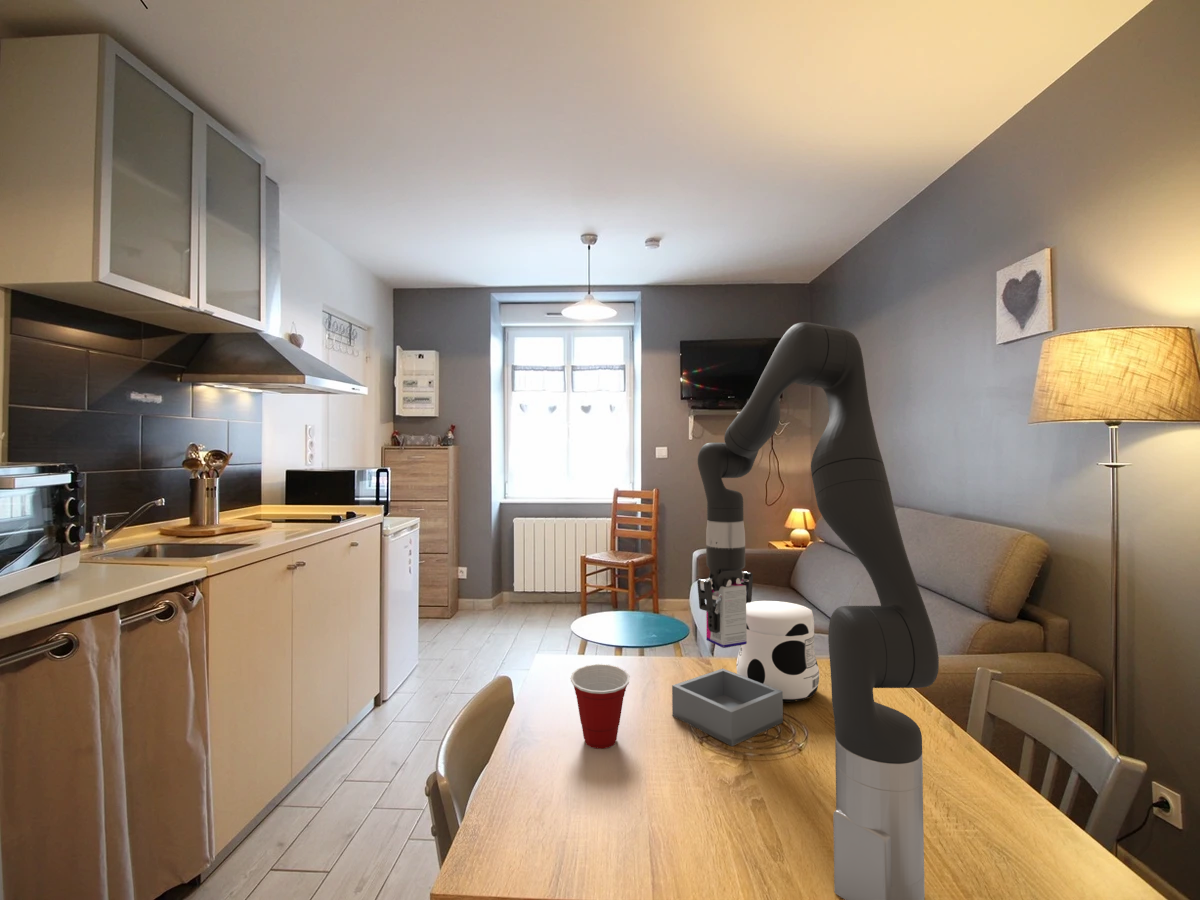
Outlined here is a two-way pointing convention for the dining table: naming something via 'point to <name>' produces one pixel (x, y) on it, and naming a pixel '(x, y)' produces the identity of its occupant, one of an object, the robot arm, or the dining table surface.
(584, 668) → the plastic cup
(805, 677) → the milk container
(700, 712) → the box
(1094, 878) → the dining table surface
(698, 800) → the dining table surface
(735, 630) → the supplement box
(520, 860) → the dining table surface
